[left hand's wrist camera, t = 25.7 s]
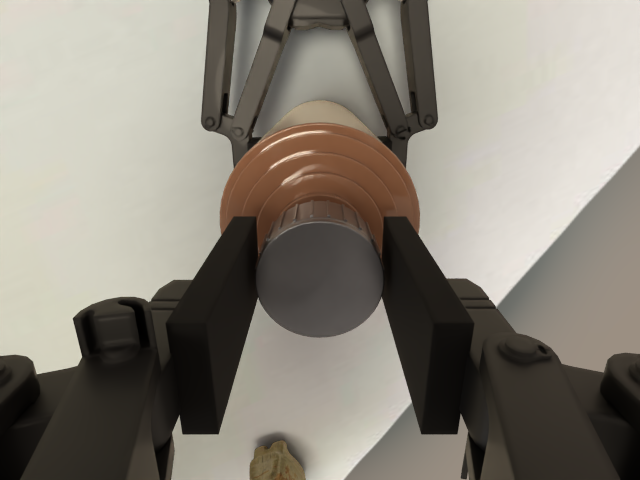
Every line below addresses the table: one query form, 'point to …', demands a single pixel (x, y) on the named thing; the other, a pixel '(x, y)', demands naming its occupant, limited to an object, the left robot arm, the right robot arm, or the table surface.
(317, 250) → the cap
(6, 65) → the table surface
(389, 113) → the right robot arm
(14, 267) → the table surface
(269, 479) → the sculpture
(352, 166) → the bottle
